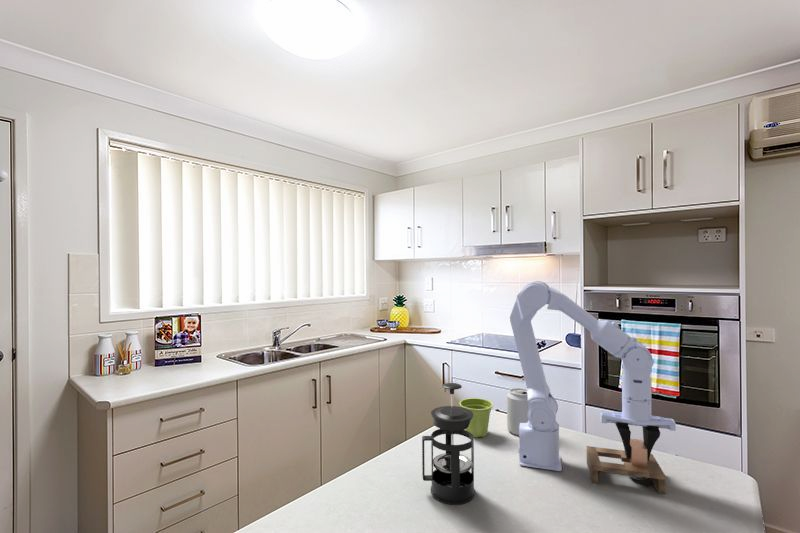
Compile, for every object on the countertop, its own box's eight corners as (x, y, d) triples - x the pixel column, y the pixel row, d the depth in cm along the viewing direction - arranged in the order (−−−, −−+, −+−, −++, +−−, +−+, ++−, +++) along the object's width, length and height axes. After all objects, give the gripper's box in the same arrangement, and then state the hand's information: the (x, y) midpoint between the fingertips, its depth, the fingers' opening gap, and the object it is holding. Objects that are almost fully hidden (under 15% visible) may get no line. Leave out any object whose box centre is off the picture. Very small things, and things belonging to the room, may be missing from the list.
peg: (629, 479, 89) (629, 447, 89) (624, 468, 94) (624, 437, 94) (650, 482, 88) (649, 449, 88) (644, 471, 93) (644, 440, 93)
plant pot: (485, 443, 110) (485, 411, 110) (454, 435, 115) (454, 405, 115) (497, 431, 118) (497, 401, 118) (467, 424, 123) (467, 396, 123)
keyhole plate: (591, 483, 89) (591, 465, 89) (586, 462, 99) (586, 445, 99) (665, 494, 85) (665, 475, 85) (652, 471, 94) (652, 454, 94)
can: (535, 438, 113) (535, 395, 113) (508, 436, 114) (507, 393, 114) (532, 427, 120) (532, 387, 120) (506, 425, 122) (506, 385, 122)
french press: (473, 480, 91) (472, 377, 91) (482, 504, 82) (481, 390, 82) (421, 480, 91) (420, 378, 91) (424, 505, 82) (423, 391, 82)
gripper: (668, 394, 92) (668, 454, 93) (598, 389, 97) (598, 445, 97) (678, 404, 86) (679, 469, 86) (602, 398, 90) (603, 459, 90)
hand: (636, 457), depth 91 cm, fingers closed on peg, 3 cm apart
